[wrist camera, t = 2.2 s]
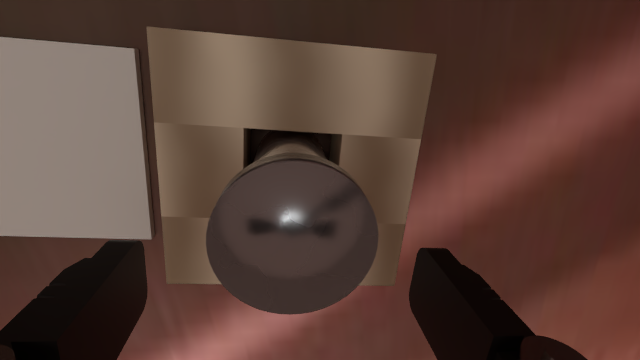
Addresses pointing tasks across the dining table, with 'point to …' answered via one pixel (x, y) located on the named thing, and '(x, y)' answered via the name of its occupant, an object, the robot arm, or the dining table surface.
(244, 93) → the bore housing
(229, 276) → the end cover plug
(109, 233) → the mat
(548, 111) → the dining table surface
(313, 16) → the dining table surface
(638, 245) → the dining table surface
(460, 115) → the dining table surface
